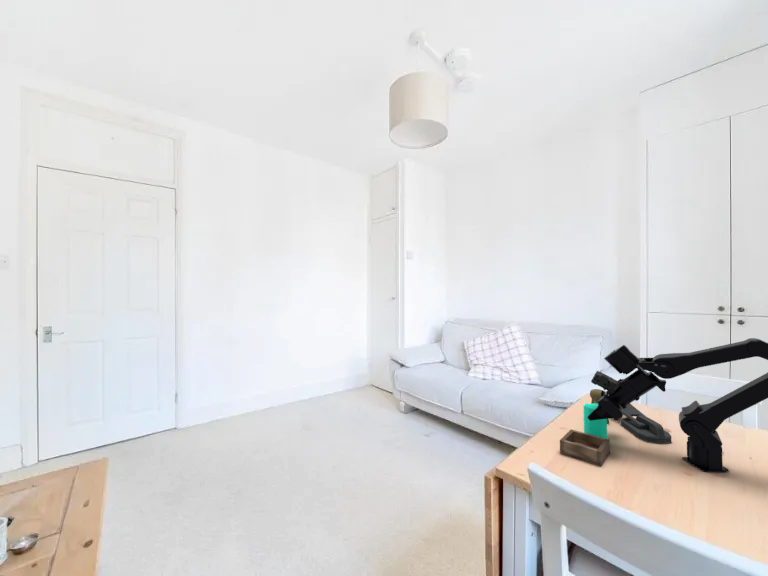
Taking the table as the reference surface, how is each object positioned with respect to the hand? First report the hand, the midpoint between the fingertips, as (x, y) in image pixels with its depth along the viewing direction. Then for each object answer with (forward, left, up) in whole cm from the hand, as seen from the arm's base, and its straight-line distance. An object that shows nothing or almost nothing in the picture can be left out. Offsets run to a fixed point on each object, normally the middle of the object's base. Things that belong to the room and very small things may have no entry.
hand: (589, 415), depth 103 cm
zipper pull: (+9, -20, -7) cm, 23 cm away
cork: (+13, -11, -7) cm, 19 cm away
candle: (-1, -1, -7) cm, 7 cm away
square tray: (-9, +7, -7) cm, 13 cm away
